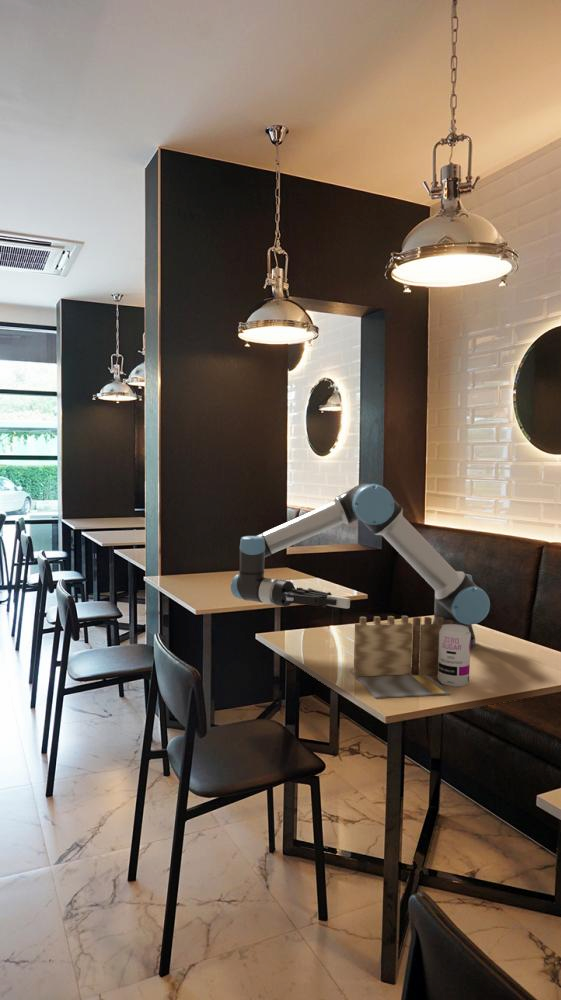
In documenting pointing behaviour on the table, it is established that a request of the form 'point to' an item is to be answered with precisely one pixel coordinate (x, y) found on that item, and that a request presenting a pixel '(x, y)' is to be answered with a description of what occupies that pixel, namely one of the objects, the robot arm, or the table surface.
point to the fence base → (413, 666)
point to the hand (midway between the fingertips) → (348, 603)
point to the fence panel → (383, 647)
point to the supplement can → (454, 655)
